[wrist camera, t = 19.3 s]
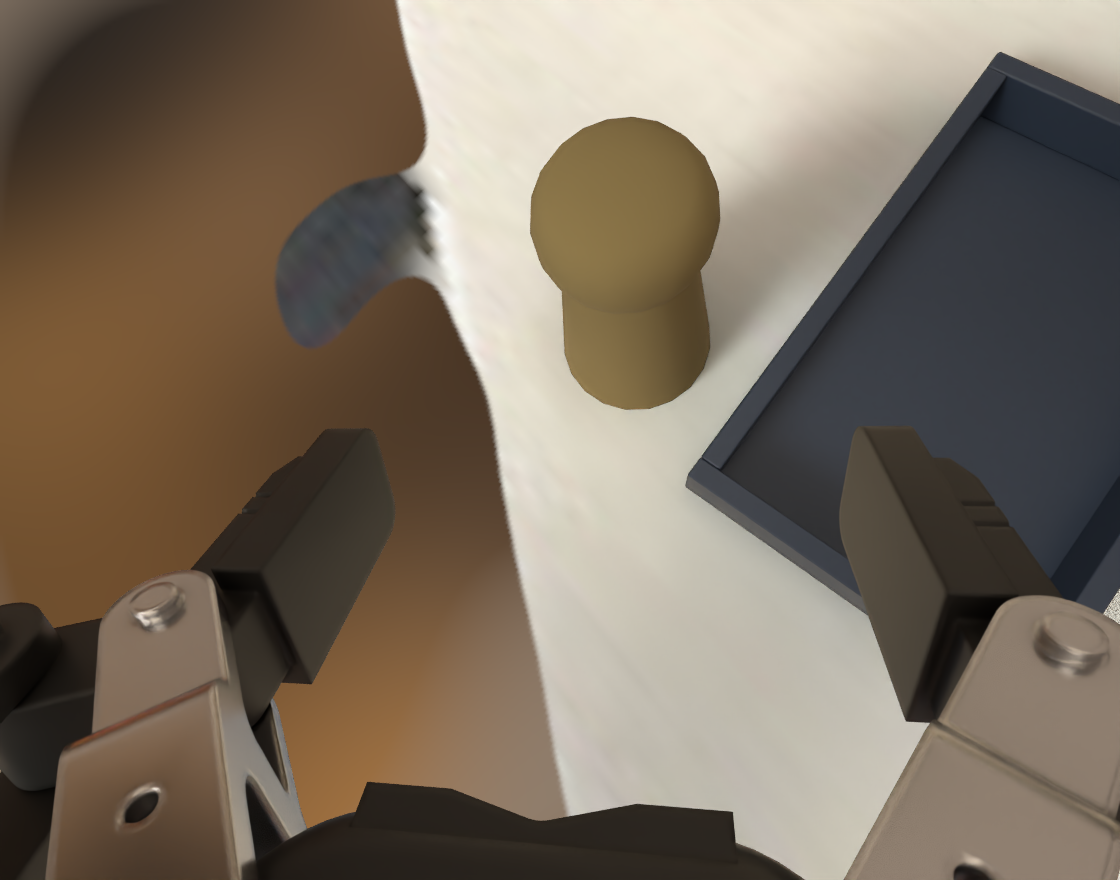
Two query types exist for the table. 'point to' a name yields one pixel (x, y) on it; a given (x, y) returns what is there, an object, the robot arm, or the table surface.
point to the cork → (629, 257)
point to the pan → (961, 343)
